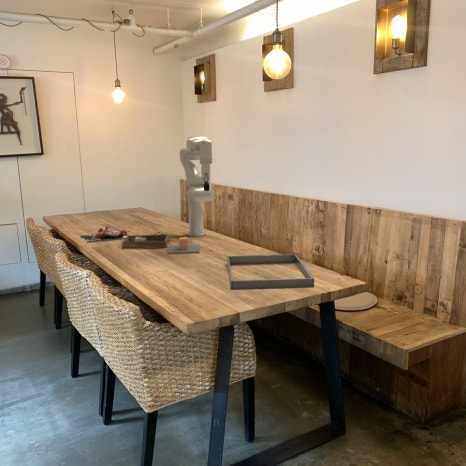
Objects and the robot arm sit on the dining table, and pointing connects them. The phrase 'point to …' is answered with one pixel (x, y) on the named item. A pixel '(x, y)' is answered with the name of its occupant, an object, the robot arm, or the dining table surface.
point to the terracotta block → (183, 243)
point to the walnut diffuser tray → (146, 242)
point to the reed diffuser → (144, 238)
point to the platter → (106, 235)
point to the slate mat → (175, 249)
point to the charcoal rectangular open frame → (269, 283)
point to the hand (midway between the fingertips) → (206, 189)
